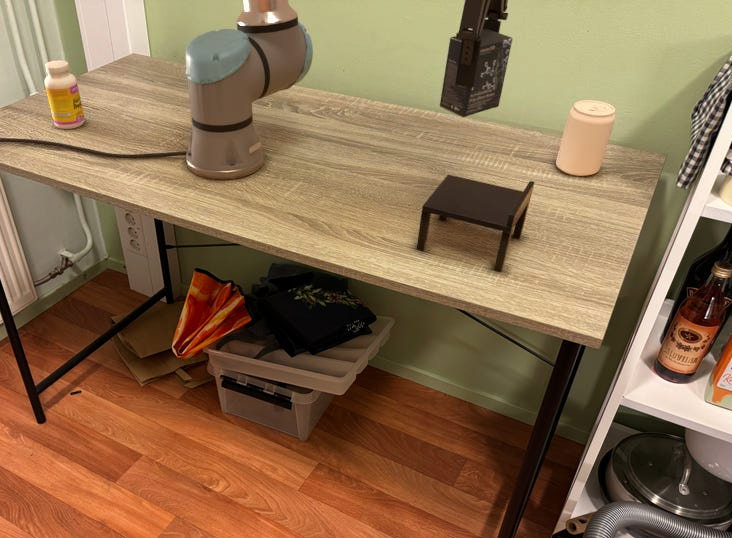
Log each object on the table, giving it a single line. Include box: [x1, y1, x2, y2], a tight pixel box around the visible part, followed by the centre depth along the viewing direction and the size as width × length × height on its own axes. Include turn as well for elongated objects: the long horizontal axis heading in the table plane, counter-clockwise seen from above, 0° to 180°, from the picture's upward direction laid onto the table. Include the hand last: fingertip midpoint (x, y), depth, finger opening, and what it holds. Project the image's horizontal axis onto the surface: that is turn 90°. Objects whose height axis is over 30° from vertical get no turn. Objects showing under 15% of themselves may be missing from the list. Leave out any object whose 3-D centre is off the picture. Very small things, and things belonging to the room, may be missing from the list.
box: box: [439, 29, 513, 118], centre depth 104 cm, size 8×6×11 cm
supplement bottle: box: [44, 59, 86, 130], centre depth 146 cm, size 7×7×13 cm
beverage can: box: [555, 99, 617, 177], centre depth 128 cm, size 8×8×12 cm
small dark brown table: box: [416, 174, 535, 273], centre depth 109 cm, size 14×12×10 cm
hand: (474, 74), depth 104 cm, fingers closed on box, 9 cm apart
